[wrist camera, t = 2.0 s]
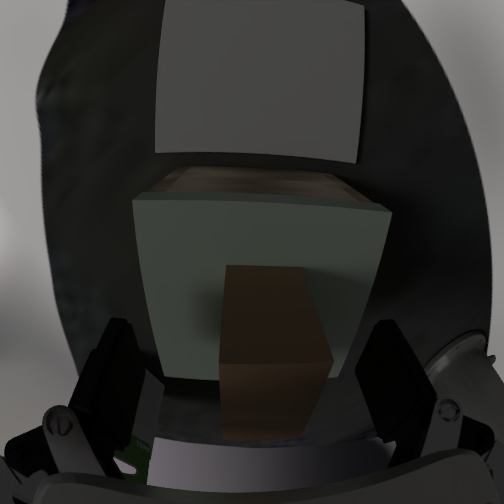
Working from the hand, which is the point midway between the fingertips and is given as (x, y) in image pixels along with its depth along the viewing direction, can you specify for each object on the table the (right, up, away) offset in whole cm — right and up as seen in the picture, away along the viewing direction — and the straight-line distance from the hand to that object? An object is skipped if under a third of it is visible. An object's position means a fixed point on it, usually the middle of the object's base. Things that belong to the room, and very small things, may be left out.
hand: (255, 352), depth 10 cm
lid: (0, +2, +3) cm, 4 cm away
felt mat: (+1, +15, +4) cm, 16 cm away
